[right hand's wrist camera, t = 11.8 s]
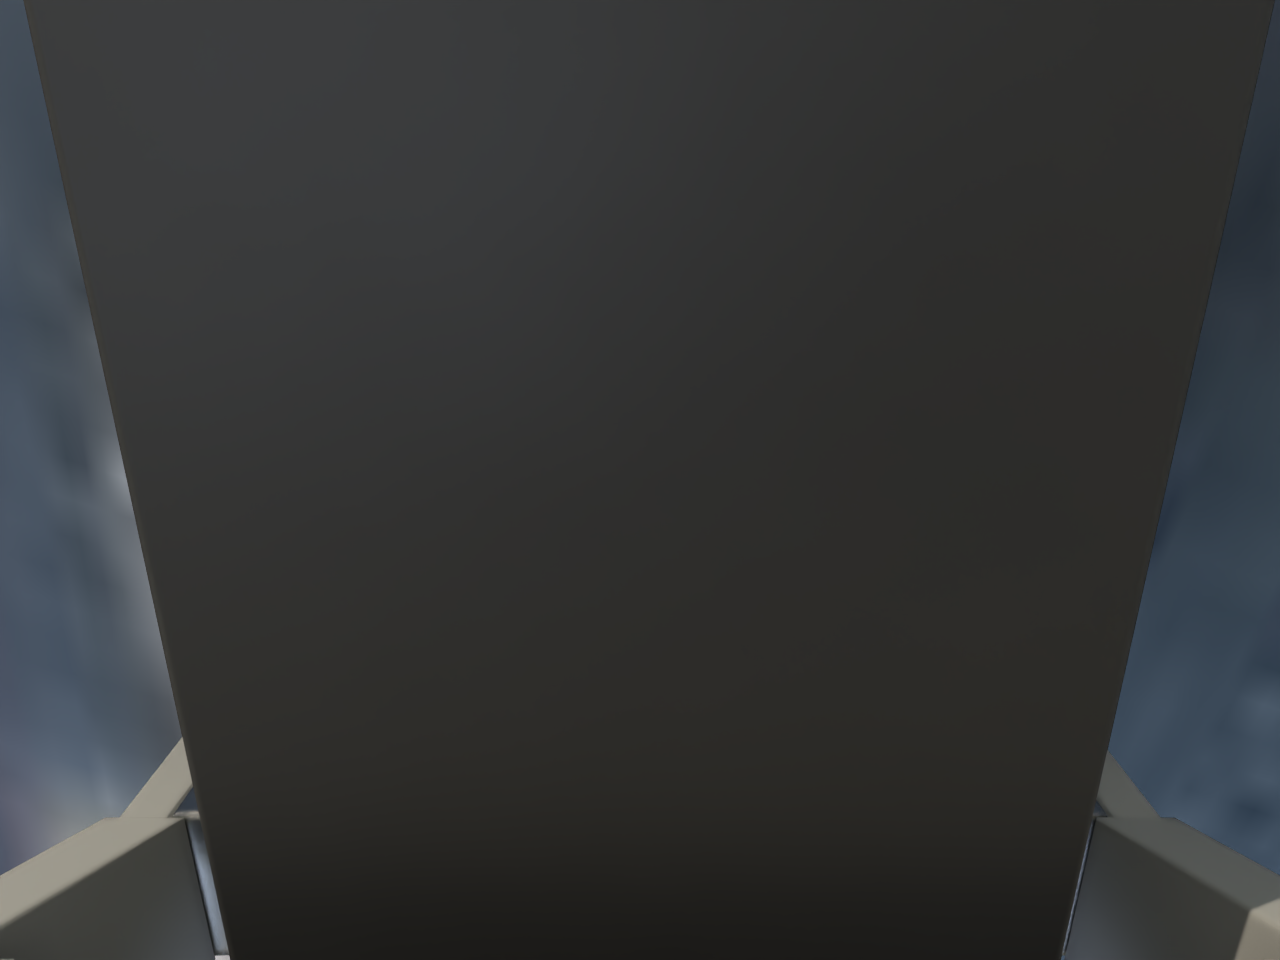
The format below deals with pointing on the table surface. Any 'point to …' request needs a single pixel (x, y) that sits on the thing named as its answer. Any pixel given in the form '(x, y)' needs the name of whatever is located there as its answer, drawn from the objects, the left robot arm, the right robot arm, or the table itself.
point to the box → (647, 447)
